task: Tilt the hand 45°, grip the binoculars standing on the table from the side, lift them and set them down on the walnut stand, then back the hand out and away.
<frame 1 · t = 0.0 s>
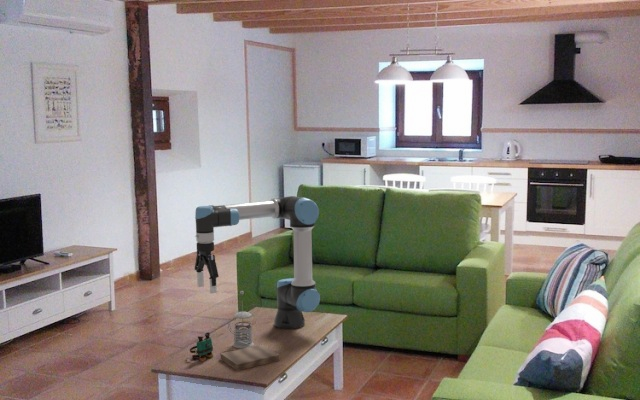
hand: (206, 289, 300), 28 cm above the table, tool pointing down, fingers open, 13 cm apart
walnut stand: (250, 359, 292), on the table
binoculars: (200, 357, 296), on the table
white plunger jar: (241, 344, 312), on the table
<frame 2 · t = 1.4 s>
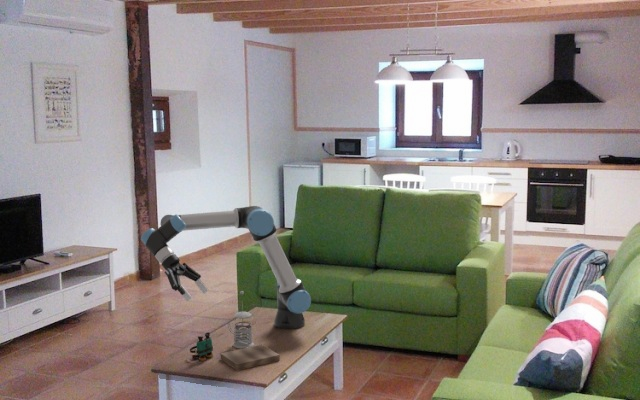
hand: (198, 295, 298), 26 cm above the table, tool tilted 45°, fingers open, 13 cm apart
nothing on the table moved.
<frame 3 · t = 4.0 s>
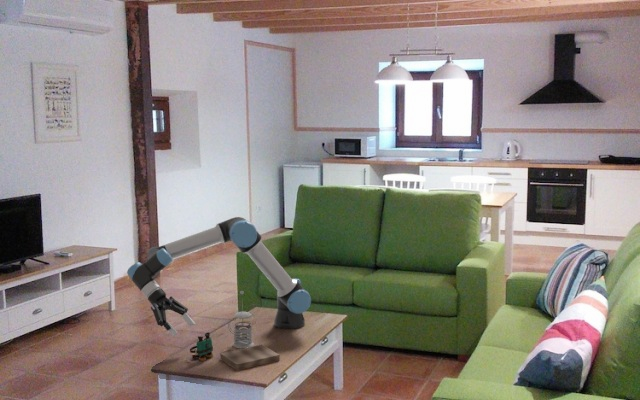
hand: (184, 330, 297), 11 cm above the table, tool tilted 45°, fingers open, 13 cm apart
nothing on the table moved.
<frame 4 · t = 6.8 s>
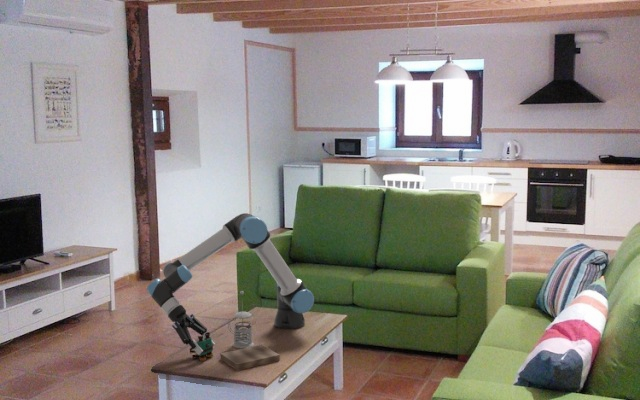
hand: (207, 349, 295), 4 cm above the table, tool tilted 45°, fingers closed on binoculars, 9 cm apart
binoculars: (200, 357, 296), on the table, touching gripper
everything else where it was.
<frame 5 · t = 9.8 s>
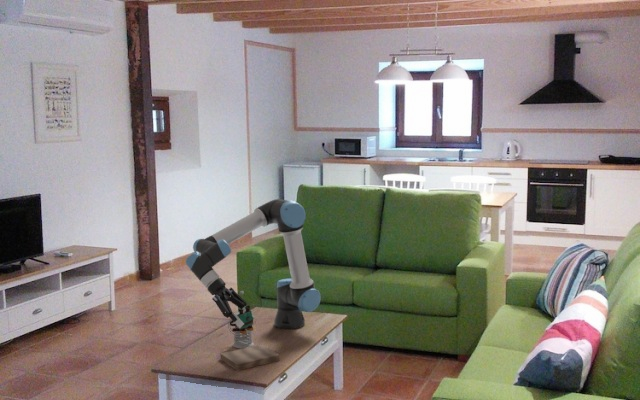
hand: (247, 322, 289), 17 cm above the table, tool tilted 45°, fingers closed on binoculars, 9 cm apart
binoculars: (241, 331, 291), point 13 cm above the table, touching gripper
everything else where it was.
when the fingers open (8 cm above the table, at t = 12.8 s): binoculars drops 1 cm, resting on walnut stand.
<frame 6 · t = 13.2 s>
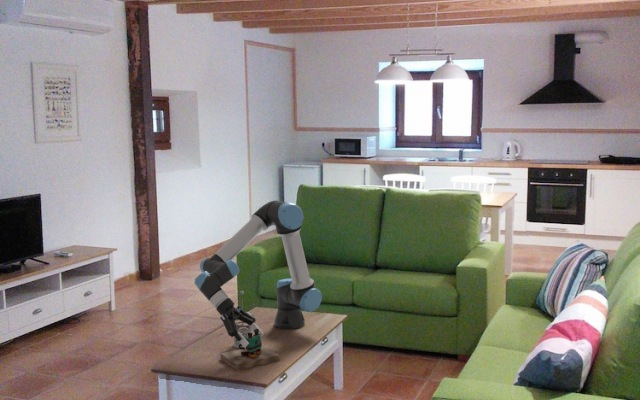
hand: (254, 340, 291), 9 cm above the table, tool tilted 45°, fingers open, 13 cm apart
binoculars: (249, 354, 292), point 2 cm above the table, touching walnut stand
everything else where it was.
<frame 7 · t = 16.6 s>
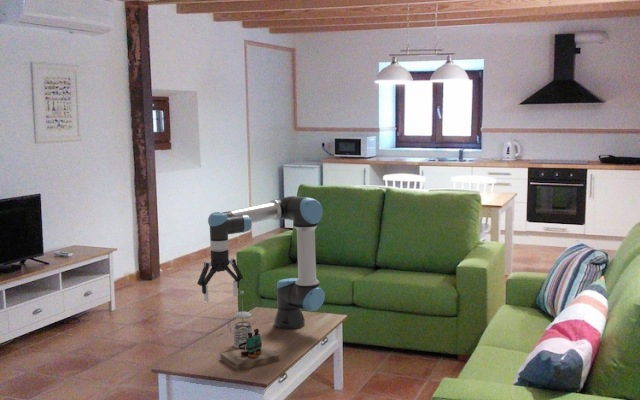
hand: (221, 298, 294), 26 cm above the table, tool pointing down, fingers open, 13 cm apart
nothing on the table moved.
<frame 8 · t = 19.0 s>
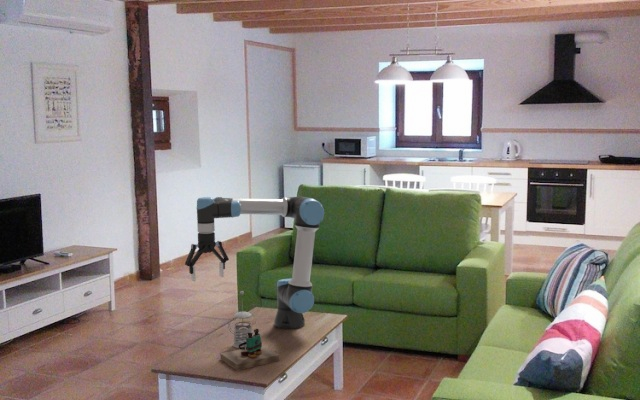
hand: (207, 278, 309), 31 cm above the table, tool pointing down, fingers open, 13 cm apart
nothing on the table moved.
at the end: binoculars inside the target area on the walnut stand (0.1 cm from its centre), point 2.3 cm above the walnut stand's base; binoculars tilted 1°; the gripper is holding nothing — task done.
